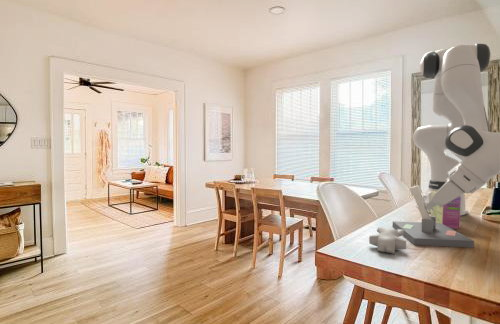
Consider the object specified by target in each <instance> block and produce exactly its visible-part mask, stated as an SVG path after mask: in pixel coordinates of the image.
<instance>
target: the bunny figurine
mask: <svg viewBox="0 0 500 324" xmlns="http://www.w3.org/2000/svg"><path fill="white" fill-rule="evenodd" d="M376 232H377V234H372V235H369V236H368V237H369V244H370V245H372V246H376V247H377V251H378V252H382V253H389V254H396V251H398V250H406V249H407V240H405V239H403V238H401V237H402V236H403V235H405V233H404V231H403V230H401V229H398V230H396V229H395V228H393V229H392V228H386V227H383V226H378V227H377V229H376Z"/></svg>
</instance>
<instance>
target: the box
mask: <svg viewBox="0 0 500 324" xmlns="http://www.w3.org/2000/svg"><path fill="white" fill-rule="evenodd" d="M435 193H436V191H432V194H431V197H432V196H433V195H434V194H435ZM431 200H432V199H431ZM460 204H461V197H460V196H459V197H458V198H456V199H454V200H453V201H451V202H449V203H447V204H446V205H444V206H441V207H440V206H438V205H436V206H434V207H433V208H431V213H430V216H435V217H436V223H441V224H443V225H445V226H447V227H449V228H451V229H453V230H454V229H455V230H457V229H458V230H460V220H461V219H460V217H461V215H460Z"/></svg>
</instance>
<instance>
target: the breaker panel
mask: <svg viewBox="0 0 500 324" xmlns="http://www.w3.org/2000/svg"><path fill="white" fill-rule="evenodd" d="M430 217H431V219H433V220H434V221H435V225H434V227H433V220H429V219H422V218H421V222H420V221H419V222H418V221H392V228H393V229H394V230H398V229H401V230H403V231H404V233H405V235H402V236H403V237H404V238H405V239H407V240H408V241H409V242H410V243H411V244H413V245H414V246H427V247H429V246H432V247H433V246H434V247H448V248H449V247H452V248H453V247H454V248H469V249H470V248H472V249H473V248H475V240H473V239H472V238H470V237H467V236H466V235H464V234H462V233H460V232H458V231H456V229H455V230H454V229H452V228H449V227H447V226H445V225H443V224H441V223H436V217H435V216H431V215H430Z"/></svg>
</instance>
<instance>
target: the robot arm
mask: <svg viewBox="0 0 500 324" xmlns="http://www.w3.org/2000/svg"><path fill="white" fill-rule="evenodd" d="M491 59H492V52H491V50H490V47H489V46H488V44H486V43H475V44H459V45H455V46H453V47H447V48H442V49H438V50H431V51H429V52H426V53H425V54H424V55H423V56H422V59H421V61H420V64H419V69H420V72H421V74H422V77H424V78H425V79H434V83H433V94H432V96H433V97H432V111H433V113H434V114H435V115H437V116H439V117H442V118H444V119H447V120H448V121H449V123H448V124H428V125H424V126H423V125H422V126H418V127H417V128H416V129H415V131H414V132H413V135H412V141H413V143H414V145H415V146H416V148H418V149H419V150H421V151H422V152H423V153H424V154H425V156H426V157H427V159H428V161H429V164H430V179H429V181H428V186H427V187H428V189H426V191H425V192H424V193H422V194H421V195H422V197H423V200H424V202H425V208H426V209H427V210H428V212H429V214H431V208H433V207H434V206H436V205H438V206H440V207H441V206H444V205H446V204H447V203H449V202H451V201H453V200H454V199H456V198H458V197H459V196H460V197H461V204H460V216H465V215H466V214H468V215H469V210H467V209H466V197H465V194H475V192H477V191H478V190H480V189H481V188H482V187H484V186H485V185H486V184H487V183H488V182H489V181H490V180H491V179H492V178H493V177H495V176H497V175H500V131H499V132H493V131H490V127H489V122H488V117H487V112H486V108H485V102H484V95H483V87H482V73H481V72H483V71H484V70H486V69H487V67H489V64H490V62H491ZM446 150H448V151H449V152H450V153H451V154H453V155H454V156H456V157H457V158H458V159H460V160H461V161H458V160H457V159H456V158H453V157H451V156H449V155H447V154H446V153H445V151H446ZM432 191H436V193H435V194H434V195H433V196H432V197H431V194H432ZM431 199H432V200H431ZM415 206H416V208H417V209H418V210H419V208H418V206H417V203H415Z"/></svg>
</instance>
